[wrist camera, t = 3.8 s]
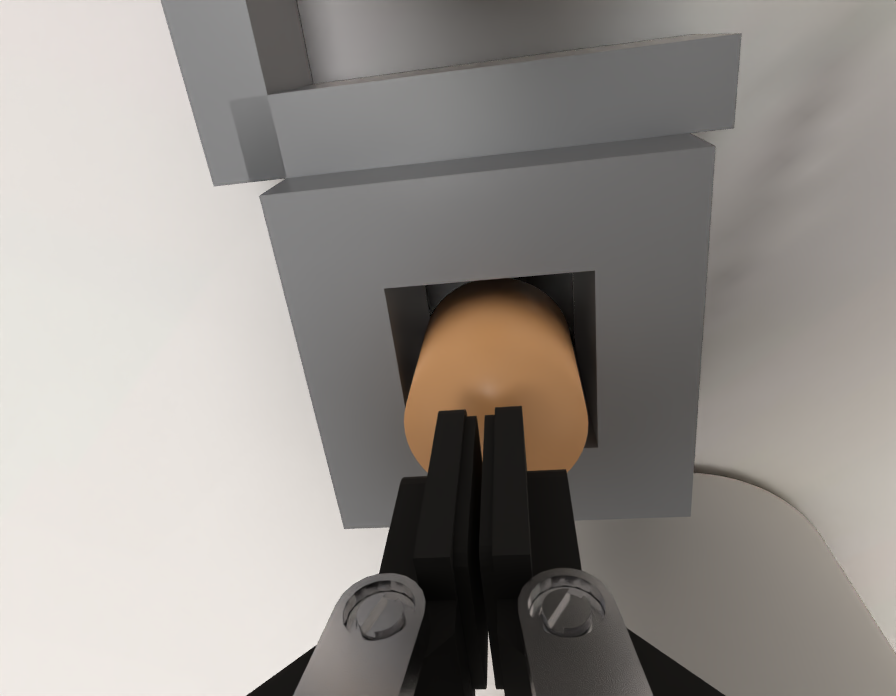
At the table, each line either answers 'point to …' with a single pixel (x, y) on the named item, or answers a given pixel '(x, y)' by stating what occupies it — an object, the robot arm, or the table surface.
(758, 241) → the table surface
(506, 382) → the brown egg
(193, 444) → the table surface
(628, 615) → the cylinder vase
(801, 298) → the table surface
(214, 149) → the grey hollow tray
